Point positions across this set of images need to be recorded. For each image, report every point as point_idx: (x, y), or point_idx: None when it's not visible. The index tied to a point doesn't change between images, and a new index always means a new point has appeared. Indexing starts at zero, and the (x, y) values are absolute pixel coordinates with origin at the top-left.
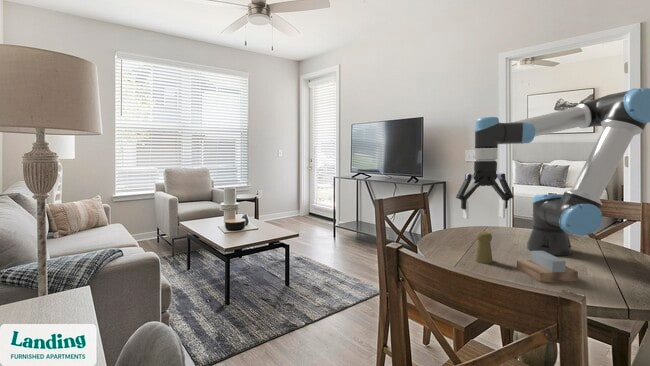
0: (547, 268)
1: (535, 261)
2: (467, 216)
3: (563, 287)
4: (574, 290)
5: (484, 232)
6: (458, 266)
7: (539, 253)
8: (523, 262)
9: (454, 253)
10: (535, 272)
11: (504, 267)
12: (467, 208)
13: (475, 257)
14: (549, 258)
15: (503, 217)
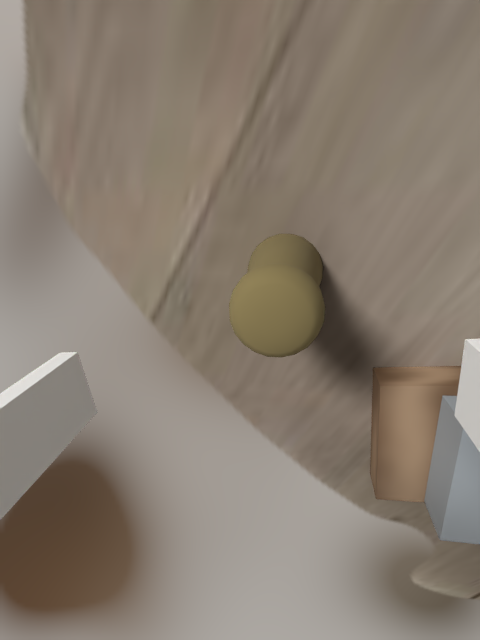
0: (429, 485)
1: (441, 427)
2: (75, 427)
3: (412, 507)
4: (427, 525)
5: (272, 328)
6: (162, 330)
7: (472, 461)
8: (393, 408)
9: (183, 147)
10: (375, 475)
11: (332, 351)
12: (9, 495)
13: (249, 263)
14: (457, 515)
15: (463, 421)
